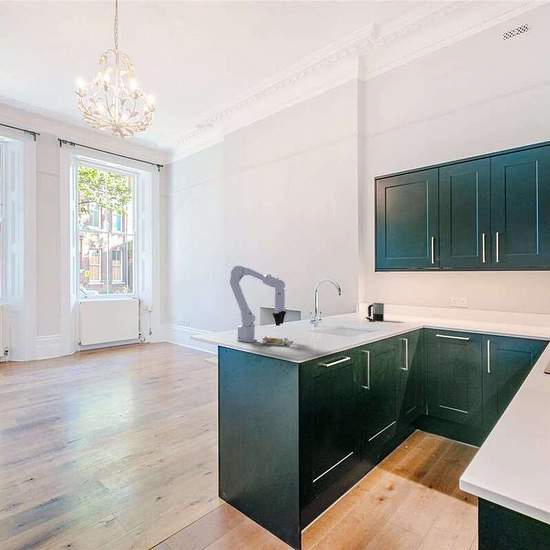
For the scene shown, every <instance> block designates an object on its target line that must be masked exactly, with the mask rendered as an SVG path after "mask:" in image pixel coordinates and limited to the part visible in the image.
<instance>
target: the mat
mask: <svg viewBox="0 0 550 550" xmlns="http://www.w3.org/2000/svg"><path fill="white" fill-rule="evenodd" d="M292 343H294V341H293V340H288V345H287V346H285V345H284V340H283V344H272V343H267V345H263V342H262V343H261V344H260V346H263V347H279V348H288V347H289V346H290V345H291V344H292Z"/></svg>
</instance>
